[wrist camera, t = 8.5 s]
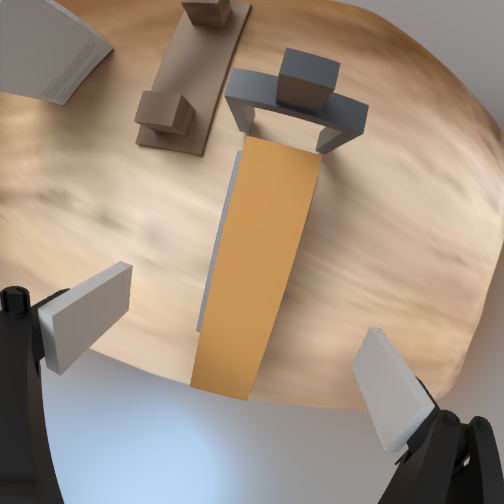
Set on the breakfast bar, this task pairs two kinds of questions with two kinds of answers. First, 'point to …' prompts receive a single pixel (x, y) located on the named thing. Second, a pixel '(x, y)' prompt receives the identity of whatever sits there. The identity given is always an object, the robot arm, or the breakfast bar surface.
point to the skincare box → (46, 50)
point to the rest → (191, 76)
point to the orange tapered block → (253, 264)
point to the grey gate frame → (298, 98)
